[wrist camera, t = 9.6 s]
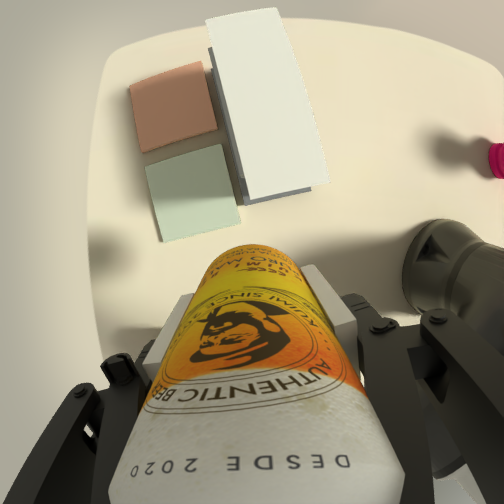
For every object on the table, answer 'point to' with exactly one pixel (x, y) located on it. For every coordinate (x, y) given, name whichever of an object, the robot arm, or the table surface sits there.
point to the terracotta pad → (172, 106)
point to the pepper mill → (497, 160)
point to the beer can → (256, 402)
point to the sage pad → (192, 193)
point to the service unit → (265, 106)
